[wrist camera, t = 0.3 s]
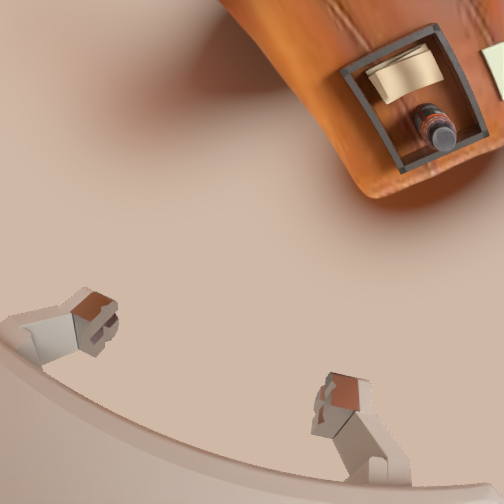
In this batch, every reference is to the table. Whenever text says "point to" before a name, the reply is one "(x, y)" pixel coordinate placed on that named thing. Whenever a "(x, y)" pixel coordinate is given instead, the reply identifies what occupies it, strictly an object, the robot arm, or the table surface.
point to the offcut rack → (479, 128)
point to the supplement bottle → (435, 127)
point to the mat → (496, 64)
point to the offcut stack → (404, 73)
